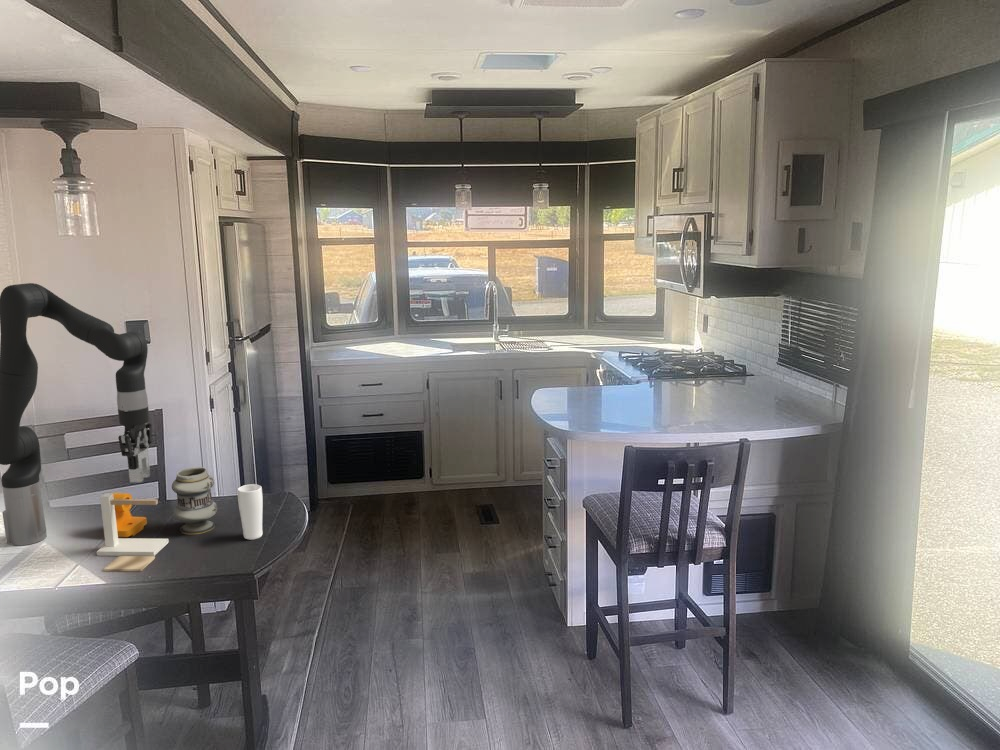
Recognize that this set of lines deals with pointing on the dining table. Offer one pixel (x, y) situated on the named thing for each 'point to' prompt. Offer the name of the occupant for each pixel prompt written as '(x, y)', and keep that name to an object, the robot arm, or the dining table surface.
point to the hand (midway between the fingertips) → (138, 465)
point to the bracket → (127, 518)
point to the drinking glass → (251, 510)
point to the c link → (140, 466)
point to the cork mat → (129, 563)
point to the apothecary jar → (194, 500)
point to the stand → (125, 545)
